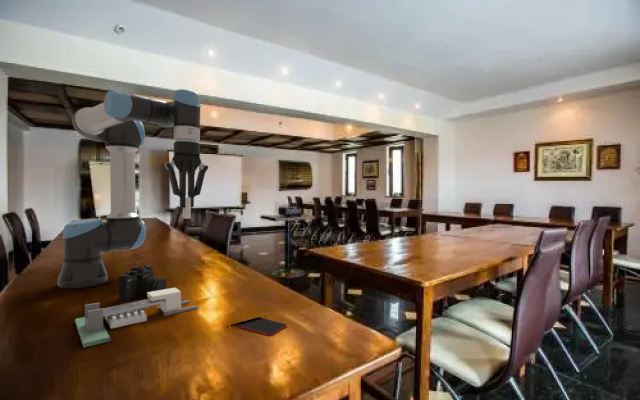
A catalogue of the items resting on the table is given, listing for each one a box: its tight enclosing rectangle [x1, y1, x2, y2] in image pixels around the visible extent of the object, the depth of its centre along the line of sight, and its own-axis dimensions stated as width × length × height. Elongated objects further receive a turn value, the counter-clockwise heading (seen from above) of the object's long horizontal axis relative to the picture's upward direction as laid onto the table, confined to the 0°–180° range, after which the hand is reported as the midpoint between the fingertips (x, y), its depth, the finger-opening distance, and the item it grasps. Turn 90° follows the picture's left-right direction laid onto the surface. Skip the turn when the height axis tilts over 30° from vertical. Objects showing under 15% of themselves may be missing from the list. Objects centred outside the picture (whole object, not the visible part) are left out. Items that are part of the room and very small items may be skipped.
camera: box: [118, 264, 168, 302], centre depth 108 cm, size 14×11×10 cm
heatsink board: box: [74, 299, 198, 348], centre depth 90 cm, size 18×28×6 cm, turn 131°
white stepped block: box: [146, 287, 182, 313], centre depth 93 cm, size 5×8×6 cm, turn 131°
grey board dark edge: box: [102, 298, 165, 318], centre depth 88 cm, size 17×4×1 cm, turn 131°
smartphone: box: [230, 316, 288, 337], centre depth 88 cm, size 7×1×15 cm
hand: (186, 218), depth 104 cm, fingers closed
